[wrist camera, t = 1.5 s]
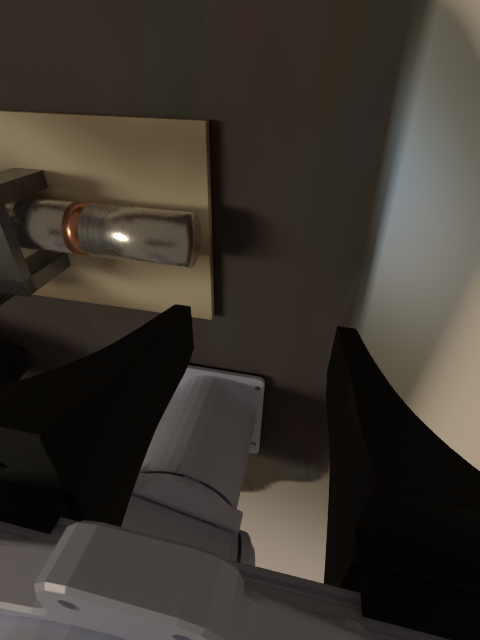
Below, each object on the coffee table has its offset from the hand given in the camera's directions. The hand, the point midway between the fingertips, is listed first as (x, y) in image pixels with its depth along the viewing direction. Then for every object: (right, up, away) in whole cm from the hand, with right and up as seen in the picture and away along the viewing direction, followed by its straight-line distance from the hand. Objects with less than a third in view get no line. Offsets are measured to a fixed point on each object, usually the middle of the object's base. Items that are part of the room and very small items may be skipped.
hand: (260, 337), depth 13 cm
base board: (-13, +7, +10) cm, 18 cm away
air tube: (-9, +6, +7) cm, 13 cm away
